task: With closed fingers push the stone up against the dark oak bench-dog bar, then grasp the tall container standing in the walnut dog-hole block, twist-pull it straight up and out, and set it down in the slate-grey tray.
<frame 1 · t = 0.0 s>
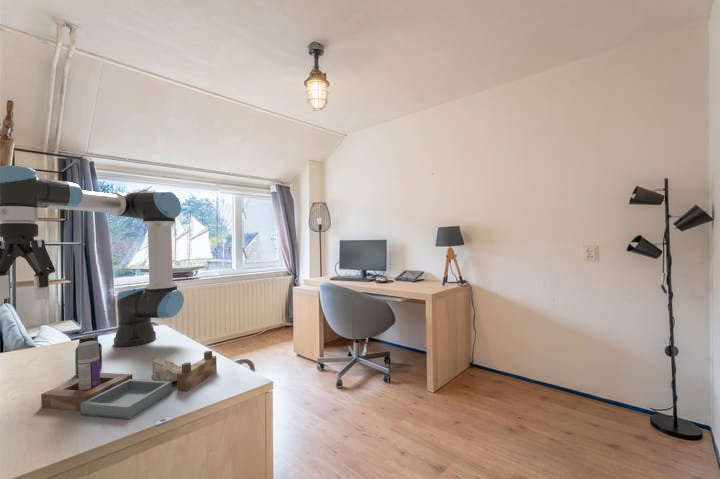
hand: (21, 299, 90), 28 cm above the table, fingers open, 13 cm apart
supplement bottle: (89, 373, 108), on the table
stone: (168, 381, 101), on the table
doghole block: (89, 395, 92), on the table
dog bar: (198, 380, 100), on the table
container: (90, 396, 92), resting in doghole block
tray: (129, 403, 87), on the table
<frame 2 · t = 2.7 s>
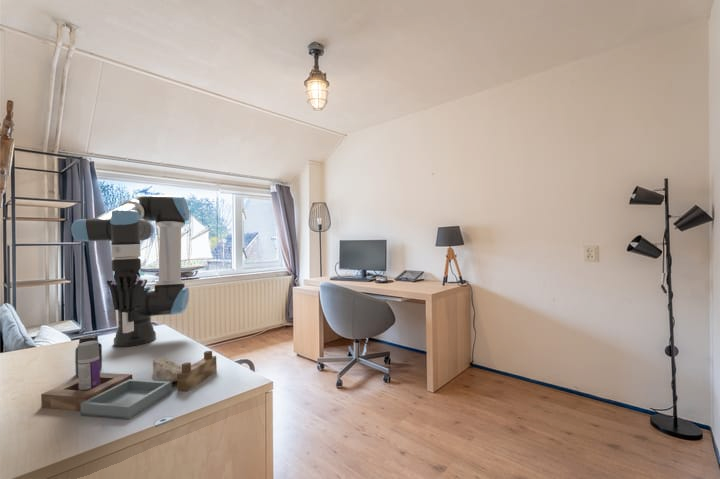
hand: (128, 331, 104), 14 cm above the table, fingers closed
nothing on the table moved.
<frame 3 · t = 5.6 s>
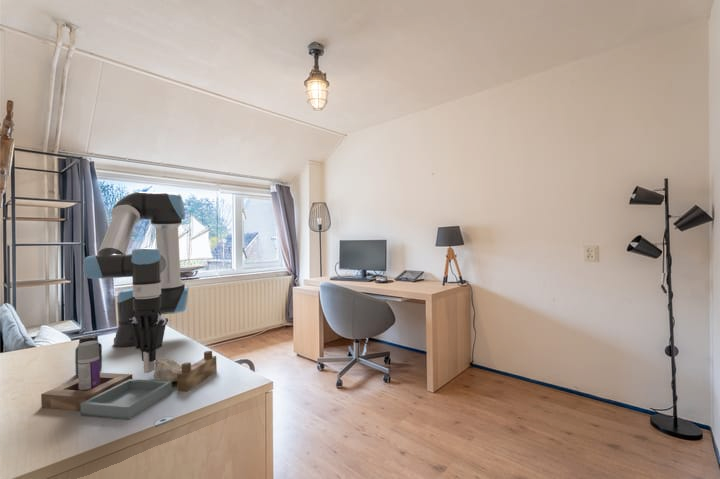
hand: (149, 371, 103), 2 cm above the table, fingers closed
stone: (170, 380, 101), on the table, touching gripper
everything else where it was.
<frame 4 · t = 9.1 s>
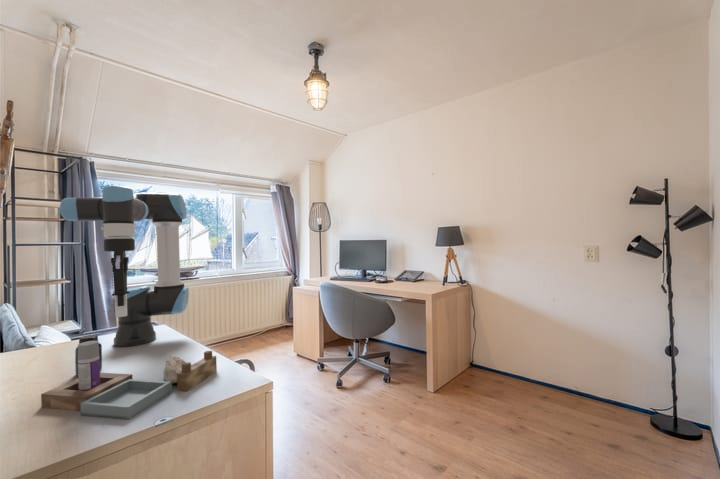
hand: (121, 316, 98), 21 cm above the table, fingers closed
stone: (178, 380, 101), on the table
everything else where it was.
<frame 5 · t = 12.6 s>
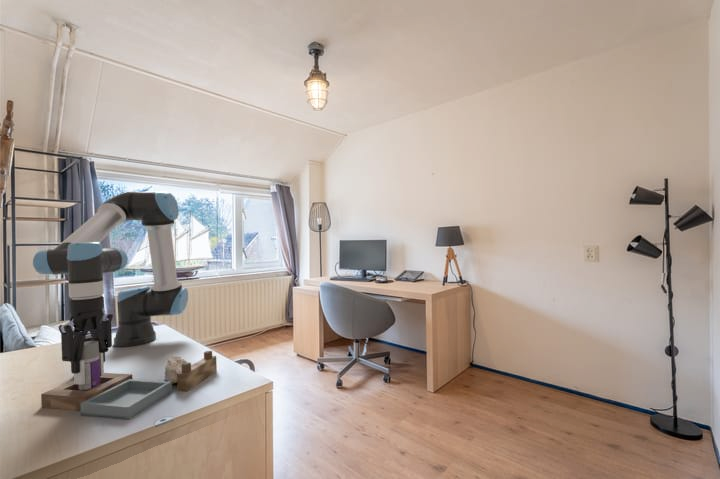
hand: (89, 379, 92), 5 cm above the table, fingers closed on container, 5 cm apart
container: (90, 396, 92), resting in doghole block, touching gripper
everything else where it was.
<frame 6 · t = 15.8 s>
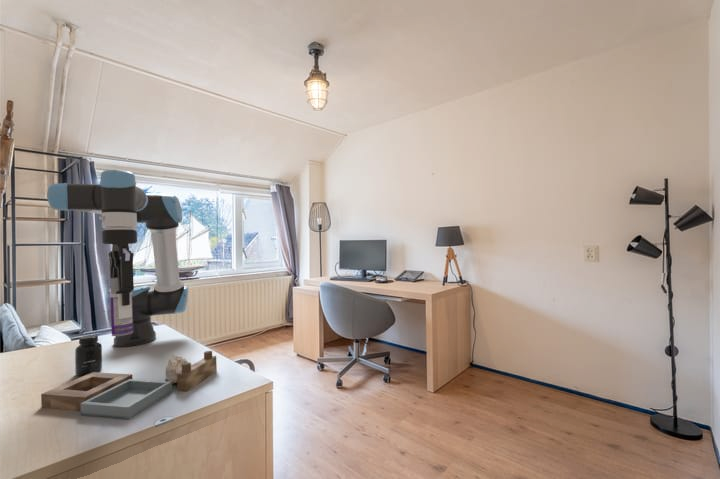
hand: (122, 316, 87), 23 cm above the table, fingers closed on container, 5 cm apart
container: (122, 334, 87), point 18 cm above the table, touching gripper
everything else where it was.
when the fingers open (7 cm above the table, at t = 19.2 s): container drops 1 cm, resting on tray.
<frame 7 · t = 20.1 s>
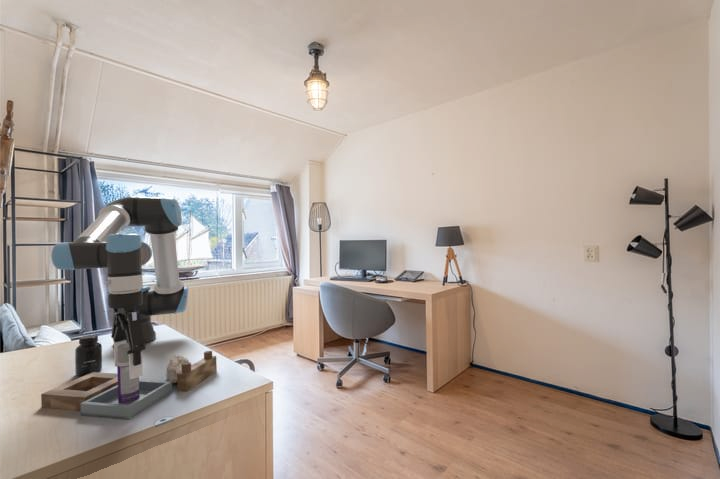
hand: (128, 370, 87), 9 cm above the table, fingers open, 13 cm apart
container: (129, 401, 87), resting on tray
everything else where it was.
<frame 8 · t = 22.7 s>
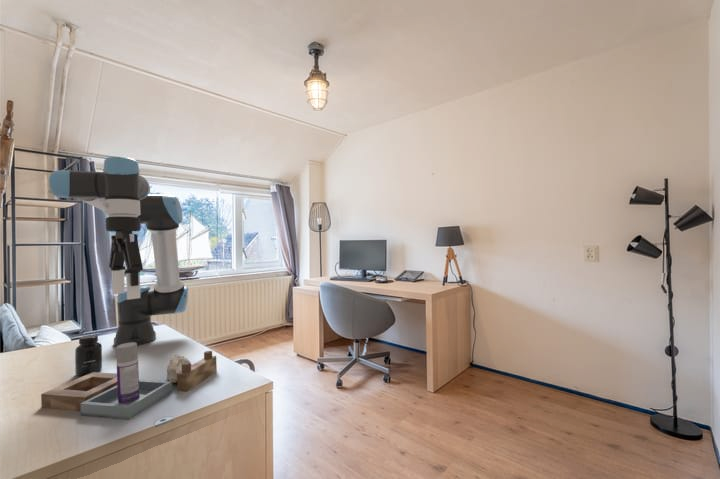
hand: (125, 296, 87), 29 cm above the table, fingers open, 13 cm apart
nothing on the table moved.
at the end: container inside the target area on the tray (0.1 cm from its centre), point 0.4 cm above the tray's base; the gripper is holding nothing; stone moved 3.4 cm from its start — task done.
